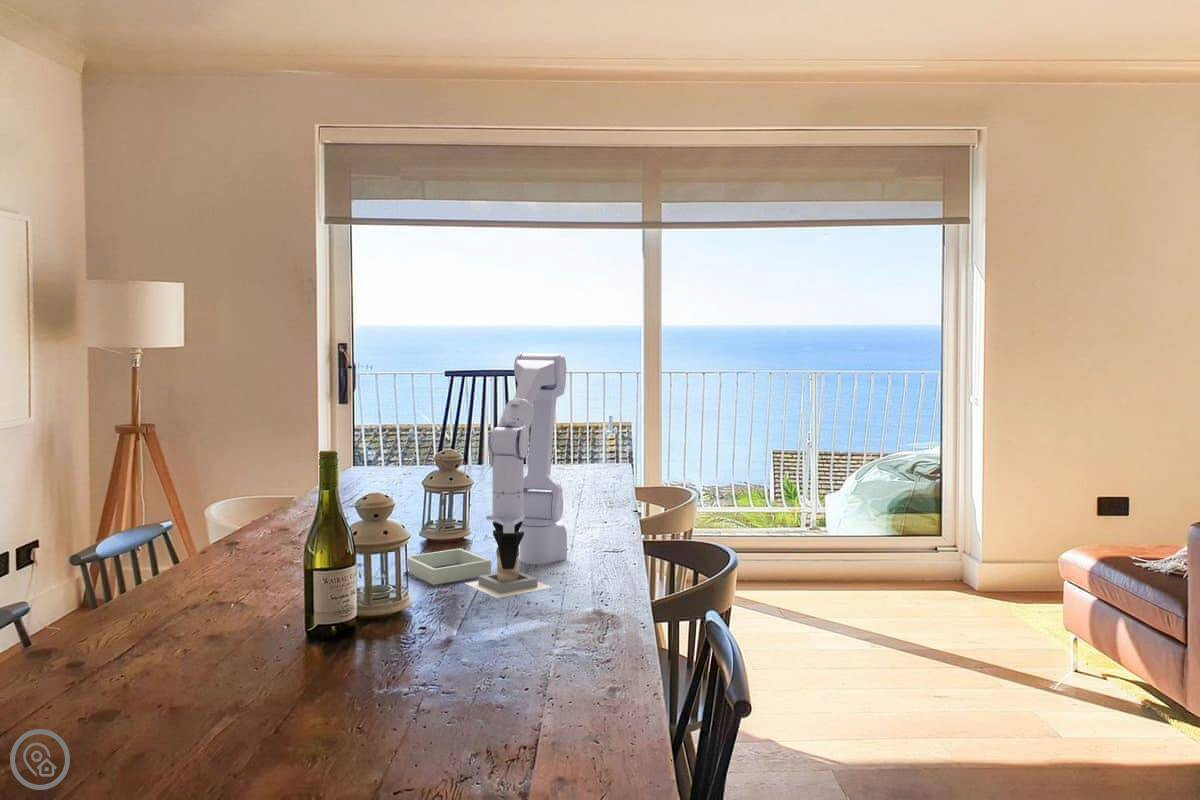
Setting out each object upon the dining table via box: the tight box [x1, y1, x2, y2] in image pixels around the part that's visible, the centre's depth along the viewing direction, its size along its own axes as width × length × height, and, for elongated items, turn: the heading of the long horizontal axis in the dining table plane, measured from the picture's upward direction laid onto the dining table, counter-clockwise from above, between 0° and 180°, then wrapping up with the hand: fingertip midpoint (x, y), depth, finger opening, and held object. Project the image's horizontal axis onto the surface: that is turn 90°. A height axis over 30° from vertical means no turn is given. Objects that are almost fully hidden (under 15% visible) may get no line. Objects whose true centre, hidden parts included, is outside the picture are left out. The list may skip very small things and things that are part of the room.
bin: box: [407, 548, 492, 586], centre depth 183 cm, size 12×12×4 cm
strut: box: [496, 546, 520, 583], centre depth 174 cm, size 4×4×7 cm
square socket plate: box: [463, 570, 553, 599], centre depth 175 cm, size 12×12×3 cm
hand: (507, 563), depth 174 cm, fingers open, 7 cm apart
